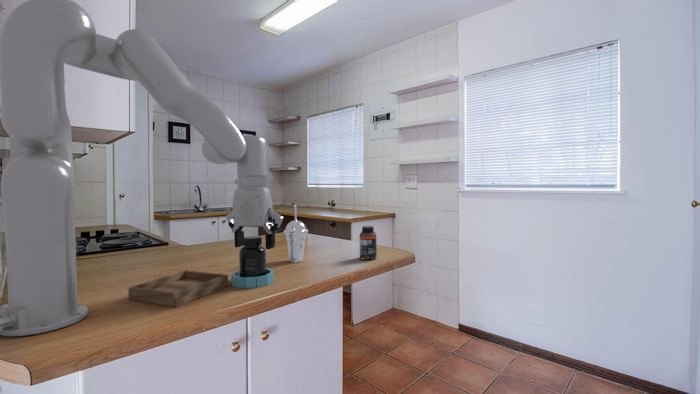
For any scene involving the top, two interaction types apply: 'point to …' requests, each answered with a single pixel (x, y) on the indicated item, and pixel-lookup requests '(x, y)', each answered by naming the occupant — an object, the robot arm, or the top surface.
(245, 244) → the supplement bottle
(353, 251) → the top surface
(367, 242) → the supplement bottle
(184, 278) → the tray
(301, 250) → the cup with straw
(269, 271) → the holder ring
